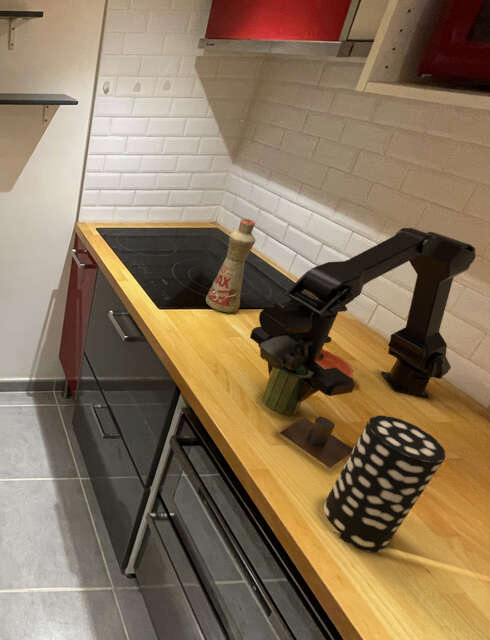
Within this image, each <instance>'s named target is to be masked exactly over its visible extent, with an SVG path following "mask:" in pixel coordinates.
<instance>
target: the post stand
mask: <svg viewBox="0 0 490 640" xmlns="http://www.w3.org/2000/svg"><path fill="white" fill-rule="evenodd" d="M335 427H336V426H335V423H334V422H333V421H332V420H330V419H329V418H326V417H323V416H318V417H316V418H315V421H314V422H312V421H311V420H309V419H307V418H306V417H302V418H301V419H299V420H298V421H296V422H295V423H293V424H291V425H290V426H288V427H286V428H285V429H283V430H281V431H280V432H279V434H280V435H281V436H283V437H284V438H286V439H287V440H288V441H290V442H291V443H293V444H295V445H296V446H297V447H299V448H300V449H301V450H303V451H304V452H306V453H307V454H309V455H310V456H312V457H313V458H314V459H316V460H317V461H319V462H320V463H321V464H323V465H324V466H326V467H327V468H328V469H331V468H333V467H335V465H337V464H338V463H340V462H342V460H343V459H345V458H347V456H348V457H349V456H350V454H351V453H352V451H353V449H354V447H353V448H352V447H351V446H349V445H348V444H346V443H345V442H343V441H342V440H340V439H338V438H337V437H336V436H335V435H333V434H332V433H333V431H334V429H335Z"/></svg>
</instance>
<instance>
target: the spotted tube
mask: <svg viewBox="0 0 490 640" xmlns="http://www.w3.org/2000/svg"><path fill="white" fill-rule="evenodd" d="M363 428H364V429H363V430H362V432H361V434H360V436H359V438H358V439H357V441H356V443H355V445H354V447H353V451H352V453H350V454H349V455H348V459H347V460H346V462H345V463H344V466H343V468H342V469H341V471H340V473H339V475H338V477H337V479H336V480H335V482H334V484H333V486H332V488H331V490H330V492H329V494H328V495H327V497H326V499H325V501H324V503H323V513H324V515H325V517H326V519H327V520H328V521H329V523H330V525H331V526H333V528H334V529H335V530H336V531H333V533H334V534H335V535H336V536H337V537H339V538H340V540H342V541H344V542H345V543H346V544H348V545H350V546H352V547H354V548H356V549H358V550H361V551H364V552H369V553H382V552H383V551H385V549H386V548H387V546H388V545H389V543H390V541H391V540H392V539H393V538H394V536H395V534H396V533H397V531H398V530H399V528H400V527H401V525H402V524H403V522H404V521H405V519H406V518H407V516H408V515H409V513H410V512H411V510H412V509H413V507H414V506H415V504H416V503H417V501H418V499H419V498H420V497H421V495H422V494H423V493H424V490H425V489H426V487H427V486H428V484H429V483H430V482H431V480H432V479H433V477H434V475H435V474H436V472H437V471H438V470H439V468H440V467H441V465H442V464H443V462H444V460H445V459H446V457H447V452H446V450H445V448H444V447H443V445H442V444H441V443H440V442H439V441H438V440H437V439H436V438H435V437H434V436H432V435H431V434H430V433H428V432H427V431H425V430H424V429H422V428H420V427H419V426H417V425H415V424H413V423H411V422H409V421H406V420H404V419H401V418H397V417H394V416H389V415H374V416H372V417H370V418H369V420H368V422H367V423H366V424H365V427H363ZM337 531H338V532H337Z"/></svg>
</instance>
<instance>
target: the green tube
mask: <svg viewBox="0 0 490 640" xmlns="http://www.w3.org/2000/svg"><path fill="white" fill-rule="evenodd" d="M311 375H312V372H311V371H310V370H308V369H307V368H305V367H304V366H303V365H302V366H301V367H299V368H297V369H295V370H292V371H291V370H289V369H288V368H286V367H285V368H282V369H276V368H274V367H273V368H272V371H271V373H270V376H269V375H268V379H267V381H266V382H265V383H266V384H265V386H264V389H263V391H262V394H261V397H260V398H261V402H262V403H263V404H264V406H265V407H266V408H268V409H269V410H270V411H272V412H274V413H277V414H279V415H283V416H294V415H296V414H297V413H298V411H299V409H300V406H301V404H302V402H298V401H297V399H298V395H299V393H300V391H301V389H302V387H303V384H304V382H303V381H302V378H308V377H311Z"/></svg>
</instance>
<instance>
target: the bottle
mask: <svg viewBox="0 0 490 640" xmlns="http://www.w3.org/2000/svg"><path fill="white" fill-rule="evenodd" d="M255 226H256V223H255V221H254V220H252V219H250V218H242V219H241V220H240V223H239V226H238V229H237V230H236V231H233V232H232V233H230V234H229V239H228V246H227V253H226V257H225V259H224V261H223V263H222V265H221V266H220V269H219V271H218V273H217V275H216V277H215V278H214V281H213V282H212V284H211V287H210V288H209V290H208V293H207V294H206V297H205V302H206V304H207V305H208V306H209V307H210V308H212V309H213V310H216V311H217V312H221V313H222V312H223V313H226V314H228V313H229V314H230V313H233V314H234V313H235V312H237V311H238V310H239V308H240V304H241V293H242V286H243V278H244V271H245V265H246V264H245V263H246V261H247V258H248V256H249V255H250V252H251V250H252V248H253V246H254V245H255V244H256V238H255V236H254V235H253V233H252V232H253V231H254V228H255Z"/></svg>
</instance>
